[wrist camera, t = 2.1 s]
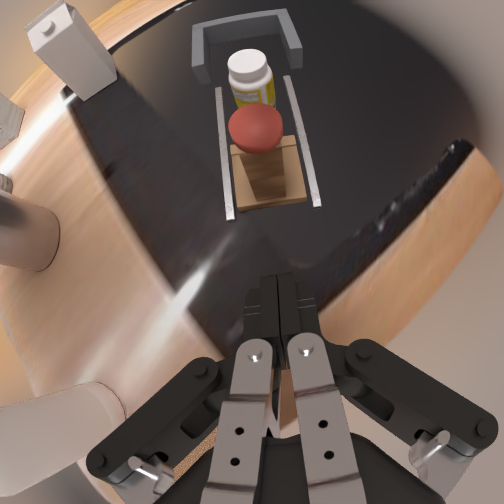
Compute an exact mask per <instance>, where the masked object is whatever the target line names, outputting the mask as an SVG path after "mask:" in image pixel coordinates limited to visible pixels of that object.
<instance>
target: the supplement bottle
mask: <svg viewBox="0 0 504 504" xmlns="http://www.w3.org/2000/svg"><path fill="white" fill-rule="evenodd" d="M228 68H229V72H230V73H229V82H230V85H231V88H232V91H233V94H234V97H235V100H236V103H237V106H238V109H239V108H241V107H242V106H245V105H248V104H252V103H263V104H267V105H270V106H272V107H273V108H276V97H275V90H274V83H273V76H272V71H271V69H270V67H269V66H268V65H267V61H266V57H265V55H264V54H263V53H262V52H260V51H258V50H255V49H245V50H241V51H238V52H236V53H234V54H233V55H232V56H231V57H230V58H229V60H228Z"/></svg>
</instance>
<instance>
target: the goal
mask: <svg viewBox="0 0 504 504" xmlns="http://www.w3.org/2000/svg"><path fill="white" fill-rule="evenodd" d="M277 33H280V36H281V39H282V42H283V45H284V48H285V51H286V54H287V57H288V60H289V64H290V67H291V69H299V68H303V48H302V45H301V43H300V40H299V38H298V35H297V33H296V31H295V28H294V26H293V24H292V21H291V19H290V17H289V15H288V12H287V10H286V9H278V10H269V11H261V12H254V13H248V14H242V15H236V16H231V17H226V18H221V19H216V20H212V21H208V22H204V23H200V24H196V25H193V29H192V68H193V70H194V73H195V75H196V77H197V79H198V81H199V84H200V85H204V84H208V83H211V66H210V50H209V49H210V48H209V45H213V44H218V43H222V42H227V41H232V40H238V39H243V38H249V37H255V36H262V35H269V34H277Z"/></svg>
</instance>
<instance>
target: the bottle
mask: <svg viewBox="0 0 504 504" xmlns="http://www.w3.org/2000/svg"><path fill="white" fill-rule="evenodd" d="M125 420H126V419H125V414H124V409H123V407H122V405H121V403H120V401H119V399H118V398H117V397H116V396H115V394H114V393H113V392H112V391H111V390H110V389H108V388H107V387H106V386H104V385H102V384H99V383H97V382H91V383H86V384H80V385H76V386H74V387H72V388H70V389H66V390H63V391H59V392H56V393H52V394H49V395H45V396H42V397H38V398H35V399H31V400H27V401H23V402H19V403H15V404H12V405H8V406H3V407H0V497H6V496H13V495H15V494H17V493H19V492H21V491H23V490H25V489H27V488H29V487H31V486H33V485H35V484H37V483H39V482H40V481H42V480H44V479H46V478H48V477H50V476H51V475H53V474H55V473H57V472H59V471H60V470H62V469H64V468H66V467H67V466H69V465H71V464H72V463H74V462H76V461H78V460H79V459H81V458H83V457H84V456H86V455H87V454H88V453H89V452H90V451H91V450H92V449H93V448H94V447H95V446H96V445H98V444H99V443H100V442H101V441H102V440H103V439H105V438H106V437H107V436H108V435H109V434H110V433H112V432H113V431H114V430H115V429H116V428H117V427H119V426H120V425H121V424H122V423H123V422H124V421H125Z"/></svg>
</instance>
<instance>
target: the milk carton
mask: <svg viewBox="0 0 504 504" xmlns="http://www.w3.org/2000/svg"><path fill="white" fill-rule="evenodd" d="M24 30H25V31H26V32H27V34H28V37H29V40H30V43H31V46H32V48H33V51H34V53H35V54H36V55H37V56H38V57H39V58H40V59H41V60H42V61H43V62H44V63H45V64H46V65H47V66H48V67H49V68H50V69H51V70H52V71H53V72H54V73H55V74H56V75H57V76H58V77H59V78H60V79H61V80H62V81H63V82H64V83H65V84H66V85H68V86H69V87H70V88H71V89H72V90H73V91H74V92H75V93H76V94H77V95H78V96H79V97H80V98H81V99H82V100H83V101H85V100H87V99H88V98H90V97H91V96H93V95H94V94H96V93H97V92H99V91H100V90H102V89H103V88H105V87H106V86H108V85H109V84H111V83H113V82H114V81H116V80H117V74H116V68H115V63H114V59H113V57H112V56H111V55H110V53H109V52H108V51H107V49H106V48H105V47H104V45H103V44H102V43H101V41H100V40H99V39H98V37H97V36H96V35H95V33H94V32H93V31H92V29H91V28H90V27H89V25H88V24H87V23H86V22H85V20H84V19H83V18H82V16H81V15H80V14H79V12H78V11H77V10H76V8H75V7H73V6H71V5H69V4H67V3H65V2H64V1H63V0H59V1H58V2H56V3H55V4H53V5H52V6H51V7H49V8H48V9H47V10H45V11H44V12H43V13H42V14H40V15H39V16H38V17H37V18H36V19H34V20H33V21H32V22H31V23H29V24H28V25H27V26H26V27H25V28H24Z"/></svg>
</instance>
